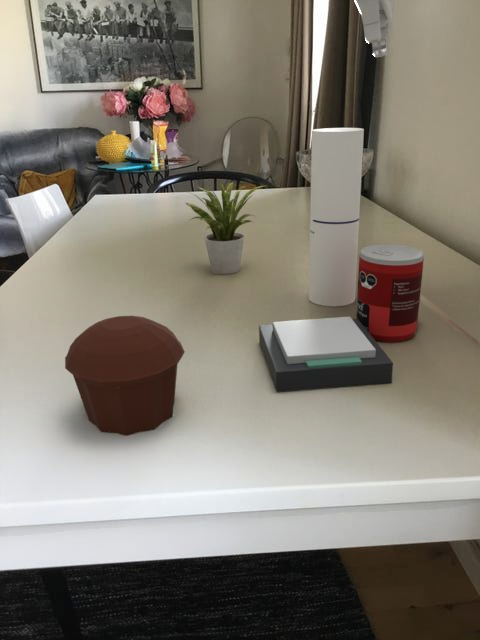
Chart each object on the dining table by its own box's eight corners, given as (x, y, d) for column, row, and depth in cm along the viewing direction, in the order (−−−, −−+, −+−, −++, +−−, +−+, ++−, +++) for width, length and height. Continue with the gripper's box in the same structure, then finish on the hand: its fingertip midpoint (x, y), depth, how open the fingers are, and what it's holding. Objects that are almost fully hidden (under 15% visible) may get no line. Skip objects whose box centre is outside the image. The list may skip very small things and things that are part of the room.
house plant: (251, 254, 113) (249, 170, 107) (282, 272, 101) (282, 179, 95) (182, 263, 108) (176, 176, 102) (206, 284, 96) (201, 187, 90)
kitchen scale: (356, 335, 75) (357, 311, 74) (391, 382, 63) (393, 354, 62) (259, 343, 74) (258, 318, 72) (276, 392, 62) (276, 363, 60)
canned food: (360, 317, 81) (365, 242, 76) (419, 323, 78) (426, 246, 74) (350, 338, 74) (354, 257, 70) (413, 346, 71) (421, 262, 67)
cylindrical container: (331, 310, 84) (337, 132, 74) (299, 297, 89) (301, 130, 79) (364, 299, 87) (374, 128, 78) (331, 287, 93) (337, 127, 83)
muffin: (190, 383, 64) (185, 300, 60) (186, 439, 54) (179, 344, 50) (85, 387, 64) (73, 305, 60) (61, 445, 54) (44, 350, 50)
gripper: (385, -123, 58) (398, 23, 61) (397, -52, 76) (406, 57, 79) (324, -102, 60) (339, 37, 63) (350, -38, 79) (361, 67, 82)
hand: (377, 49), depth 71 cm, fingers open, 8 cm apart
